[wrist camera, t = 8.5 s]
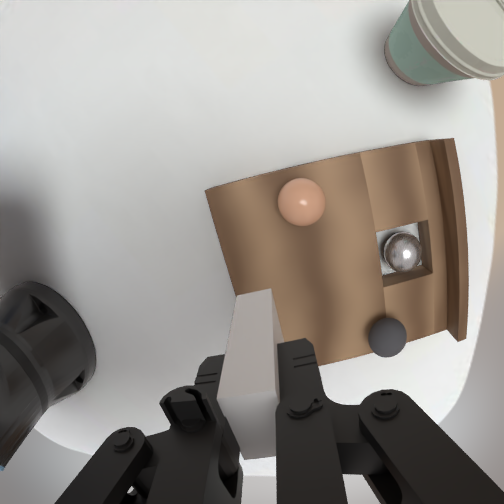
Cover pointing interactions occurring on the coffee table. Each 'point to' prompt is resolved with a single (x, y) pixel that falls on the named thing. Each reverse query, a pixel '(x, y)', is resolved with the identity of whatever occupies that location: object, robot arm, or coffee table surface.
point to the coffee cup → (447, 41)
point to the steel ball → (402, 252)
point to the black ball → (387, 337)
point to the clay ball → (301, 202)
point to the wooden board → (352, 246)
